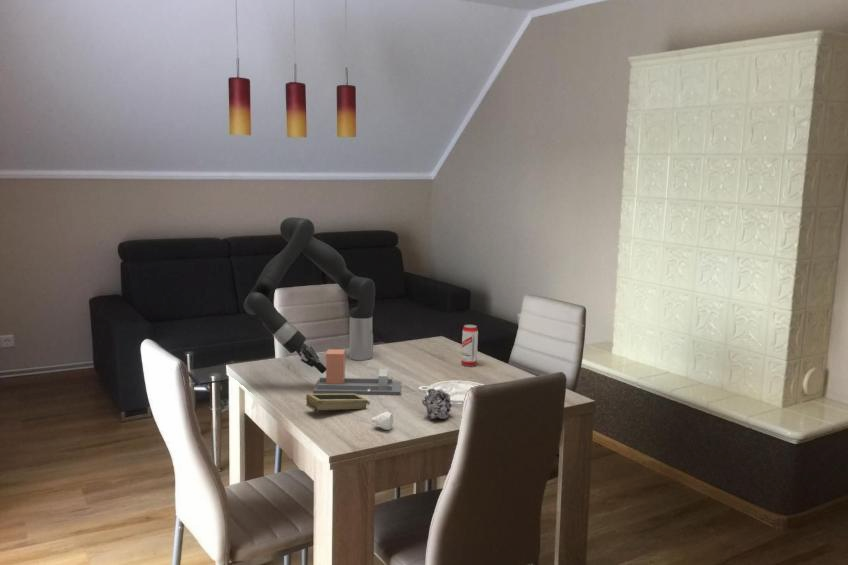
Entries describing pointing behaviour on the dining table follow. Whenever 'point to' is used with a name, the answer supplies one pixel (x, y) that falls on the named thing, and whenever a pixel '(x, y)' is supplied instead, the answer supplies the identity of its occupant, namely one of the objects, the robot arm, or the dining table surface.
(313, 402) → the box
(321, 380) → the grey slide track
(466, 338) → the beer can
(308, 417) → the dining table surface
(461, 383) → the medallion
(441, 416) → the mineral specimen
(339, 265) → the robot arm
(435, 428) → the dining table surface
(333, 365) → the salmon rectangular block
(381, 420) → the white seashell
